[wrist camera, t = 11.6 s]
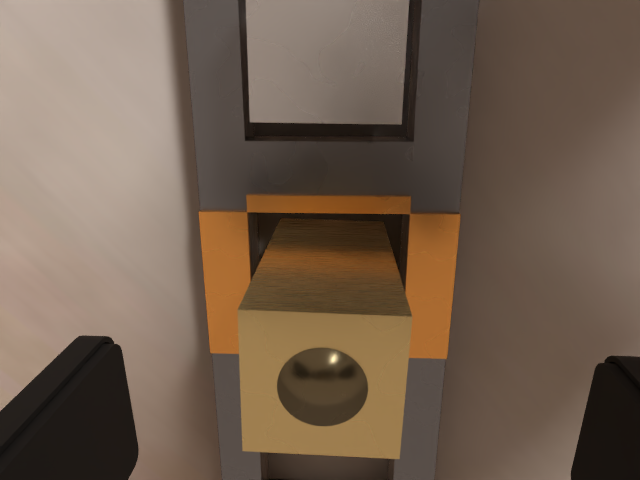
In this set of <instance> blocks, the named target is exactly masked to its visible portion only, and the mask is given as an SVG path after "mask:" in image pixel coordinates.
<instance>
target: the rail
mask: <svg viewBox="0 0 640 480" xmlns="http://www.w3.org/2000/svg"><path fill="white" fill-rule="evenodd" d="M183 4H184V17H185V29H186V41H187V54H188V66H189V78H190V91H191V103H192V115H193V128H194V140H195V152H196V164H197V177H198V189H199V201H200V211H199V223H200V235H201V247H202V260H203V272H204V284H205V296H206V308H207V320H208V332H209V345H210V353H212V362H213V374H214V386H215V399H216V411H217V423H218V436H219V448H220V460H221V473H222V480H276V479H269V469H268V452H250V451H242V423H241V395H240V367H239V339H238V311H237V310H238V308H239V305H240V303H241V301H242V299H243V297H244V295H245V293H246V291H247V288H248V286H249V284H250V282H251V280H252V278H253V276H254V274H255V272H256V269H257V267H258V265H259V263H260V257H259V233H258V212H263V213H355V214H402V227H401V246H400V264H399V274H400V278H401V281H402V284H403V287H404V291H405V294H406V297H407V300H408V304H409V307H410V310H411V313H412V328H411V339H410V350H409V360H408V371H407V382H406V393H405V404H404V415H403V426H402V437H401V448H400V459H389V464H388V480H434V478H435V467H436V457H437V446H438V435H439V424H440V414H441V403H442V392H443V382H444V371H445V360H446V359H447V354H448V343H449V333H450V322H451V311H452V301H453V290H454V280H455V269H456V258H457V248H458V237H459V227H460V216H461V214H460V213H459V210H460V200H461V189H462V178H463V168H464V157H465V146H466V136H467V125H468V114H469V103H470V93H471V82H472V71H473V61H474V50H475V39H476V28H477V18H478V7H479V0H414V9H413V27H412V46H411V64H410V82H409V100H408V118H407V136H406V137H393V136H254V122H250V114H249V84H248V54H247V24H246V0H183Z"/></svg>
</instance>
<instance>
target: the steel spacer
mask: <svg viewBox="0 0 640 480" xmlns="http://www.w3.org/2000/svg"><path fill="white" fill-rule="evenodd" d="M408 12H409V0H246V24H247V54H248V84H249V114H250V122H264V123H332V124H401V123H402V108H403V92H404V76H405V60H406V44H407V28H408Z"/></svg>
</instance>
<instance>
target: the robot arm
mask: <svg viewBox="0 0 640 480" xmlns="http://www.w3.org/2000/svg"><path fill="white" fill-rule="evenodd" d="M137 458H138V442H137V436H136V430H135V425H134V419H133V413H132V407H131V401H130V395H129V389H128V384H127V378H126V372H125V366H124V360H123V354H122V350H121V347H120V346H119V345H118V344H114V341H113V340H112V338H110V337H107V336H79V337H78V338H76V339H75V340H74V341H73V342H72V343H71V344H70V345H69V346H68V347H67V348H66V349H65V350H63V351H62V352H61V353H60V354H59V355H58V356H57V357H56V358H55V359H54V360H53V361H52V362H51V363H50V364H49V365H48V366H47V367H46V368H45V369H44V370H43V371H42V372H41V373H40V374H39V375H38V376H37V377H35V378H34V379H33V380H32V381H31V382H30V383H29V384H28V385H27V386H26V387H25V388H24V389H23V390H22V391H21V392H20V393H19V394H18V395H17V396H16V397H15V398H14V399H13V400H12V401H11V402H10V403H8V404H7V405H6V406H5V407H4V408H3V409H2V410H1V411H0V480H128V478H129V476H130V475H131V473H132V471H133V469H134V467H135V465H136V462H137ZM571 480H640V357H631V356H609V357H607V359H606V360H605V362H604V363H600V364H598V365H597V366H596V368H595V371H594V375H593V380H592V384H591V388H590V393H589V397H588V401H587V405H586V410H585V414H584V418H583V423H582V427H581V431H580V435H579V440H578V444H577V448H576V453H575V457H574V461H573V465H572V470H571Z"/></svg>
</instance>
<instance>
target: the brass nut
mask: <svg viewBox="0 0 640 480" xmlns="http://www.w3.org/2000/svg"><path fill="white" fill-rule="evenodd" d="M237 311H238V339H239V367H240V395H241V423H242V451H250V452H269V453H289V454H309V455H328V456H348V457H367V458H387V459H400V448H401V437H402V426H403V415H404V404H405V393H406V382H407V371H408V360H409V350H410V339H411V328H412V313H411V310H410V307H409V304H408V300H407V297H406V294H405V291H404V287H403V284H402V281H401V278H400V274H399V271H398V268H397V265H396V261H395V258H394V255H393V251H392V248H391V245H390V242H389V238H388V235H387V232H386V229H385V225H384V222H383V221H352V220H322V219H292V218H281V219H280V221H279V223H278V225H277V227H276V229H275V231H274V233H273V236H272V238H271V240H270V242H269V244H268V246H267V248H266V250H265V252H264V255H263V257H262V259H261V261H260V263H259V265H258V267H257V269H256V272H255V274H254V276H253V278H252V280H251V282H250V284H249V286H248V288H247V291H246V293H245V295H244V297H243V299H242V301H241V303H240V305H239V308H238V310H237Z"/></svg>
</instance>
